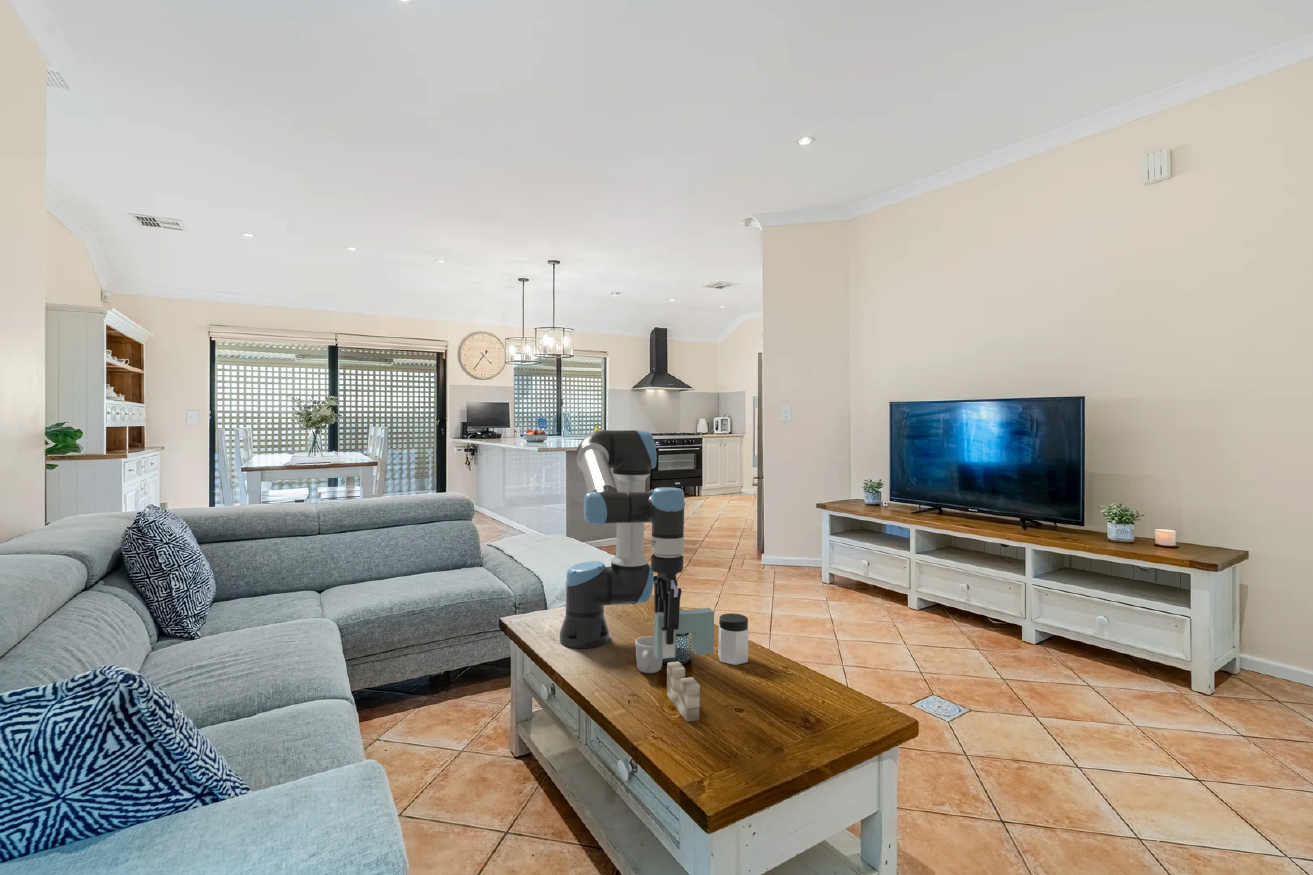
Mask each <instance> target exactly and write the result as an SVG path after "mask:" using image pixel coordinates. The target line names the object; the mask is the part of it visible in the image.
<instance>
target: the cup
mask: <svg viewBox="0 0 1313 875" xmlns="http://www.w3.org/2000/svg"><path fill="white" fill-rule="evenodd" d="M634 645H635V656H636V666H637V669H638V671H640V672H641V673H643V674H655V673H658V672H659V671H661V669H662V666H663V660H664V659H657V658H656V657H655V656H654V635H645V636H640V637H638V638H636V640H635V641H634Z"/></svg>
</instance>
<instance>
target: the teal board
mask: <svg viewBox="0 0 1313 875" xmlns="http://www.w3.org/2000/svg"><path fill="white" fill-rule="evenodd" d="M663 627H664V612H655V613H654V615H653V636H654V656H655V657H656V658H657V659H663V660H665V659H674V658H677V635H680V634H681V635H682V634H691V639H690V640H691V642H690V645H691V646H690V648H691V649H690V650H691V652H692V653H693V654H694V655H695V656H701V655H712V654H714V651H715V649H714V648H715V647H714V644H715V643H714V642H715V641H714V638H715V611H714V610H713V609H712V608H711V607H710V608H709V607H706V608H695V609H694V608H693V609H680V610H679V629H676V630H675V642H674V657H668V658H663V657H662V638H663V631H662V630H661V628H663Z"/></svg>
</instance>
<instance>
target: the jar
mask: <svg viewBox="0 0 1313 875" xmlns="http://www.w3.org/2000/svg"><path fill="white" fill-rule="evenodd" d="M718 623H719V624H718V649H717V651H718V652H717V653H718V654H717V657H718V659H719V661H720V662H721V663H724V664H728V665H733V666H739V665H741V664H742V665H743V664H745V663H748V662H749V619H748V617H747V616H746V615H744V614H740V613H724V614H722V615H720V616H719V622H718Z"/></svg>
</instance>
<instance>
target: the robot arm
mask: <svg viewBox="0 0 1313 875" xmlns="http://www.w3.org/2000/svg"><path fill="white" fill-rule="evenodd" d="M653 437H654V436H653V435H652V433H650V432H649V431H646V430H637V429H635V430H630V429H629V430H609V429H607V430H605V429H604V430H603V429H602V430H597V431H594V432H592V433H590V434H588V435H587V436H586V437H584V438H583V439H582V441H580V443H579V444H578V447H576V448H577V449H576V452H575V461H576V464H577V466H578V468H579V469H580V471H582V474H583V479H584V482H585V486H586V490H587V493H586V494H585V495H584V497H583V506H582V507H583V519H584V521H585V522H586V523H587V524H598V525H603V524H616V541H615V542H616V544H615V545H616V546H615V547H616V549H615V550H616V552H615V556H614V557H613V558H612V559H611V560H610V566H606V565H605V563H604V562H602V561H595V560H594V561H593V560H591V561H585V562H580V563H576V564H574V565H572V566H570V568H568V569H567V572H566V580H565V586H566V590H565V593H566V594H565V596H566V597H565V616H564V619H563V622H562V625H561V629H560V631H559V642H560V643H561V645H563V646H565V647H568V648H573V649H591V648H598V647H600V646H603V645H606V644H607V643H608V642H609V640H610V631H609V630H610V629H609V627H608V624H607V622H606V621H607V620H606V618H605V613H604V612H605V611H604V610H605V606H617V605H637V604H645V603H647V602H648V601H649V600H650V598H651V597H652V594H653V595H654V596H653V597H654V598H653V600H654V603H653V604H654V610H653V611H654V613H655V612H664V627H663V628H661V630H662V631H663V638H662V657H663V658H667V659H669V658H668V657H674V642H675V630H676V629H679V610H681V608H680V606H681V595H682V588H680V587H678V585H679V584H678V579H677V574H679V573H682V572H683V570H684V556H683V553H684V552H685V550H684V549H685V548H684V547H685V535H684V529H685V506H686V502H685V492H684V490H683V489H682V488H680V487H679V488H678V487H671V486H670V487H667V486H666V487H665V486H664V487H656V488H654V489H653V490H650V491H646V480H647V478H648V477H650V475H651V469H652V470H653V469H655V468H656V466H657V459H658V458H657V449H656V448H657V447H656V444H655V439H654V438H653ZM611 469H612V470H611ZM614 477H616V479H617V483H616V481H615V479H614ZM616 484H617V485H616ZM645 523H651V540H649V545H651V553H652V555H651V557H650V558H651V559H650V560H651V561H650V564H649V560H648V558H647V557H645V554H644V553H645V551H644V550H645V548H644V547H645ZM654 573H656V574H657V575H655V574H654Z"/></svg>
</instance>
